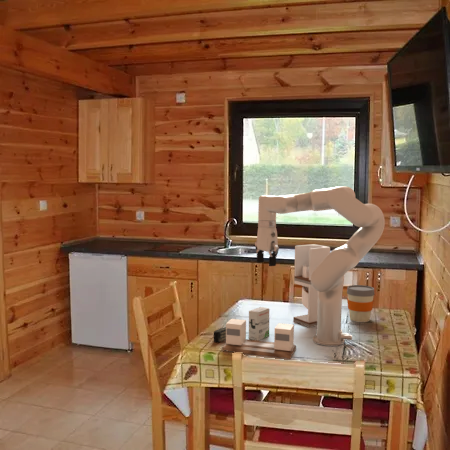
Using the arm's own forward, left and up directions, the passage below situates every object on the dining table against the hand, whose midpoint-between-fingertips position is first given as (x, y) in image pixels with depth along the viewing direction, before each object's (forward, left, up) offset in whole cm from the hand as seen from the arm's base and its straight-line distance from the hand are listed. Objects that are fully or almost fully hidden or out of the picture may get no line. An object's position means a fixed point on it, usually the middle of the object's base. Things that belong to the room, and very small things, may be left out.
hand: (266, 264), depth 224 cm
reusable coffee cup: (-38, -32, -29) cm, 57 cm away
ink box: (0, +10, -29) cm, 31 cm away
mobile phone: (+12, +16, -29) cm, 36 cm away
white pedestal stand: (-17, -19, -29) cm, 39 cm away
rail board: (-4, +25, -29) cm, 39 cm away
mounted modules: (-4, +26, -27) cm, 37 cm away
